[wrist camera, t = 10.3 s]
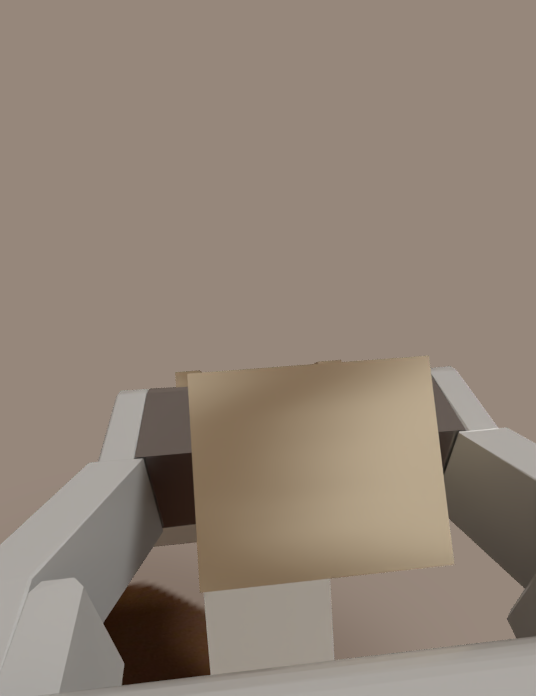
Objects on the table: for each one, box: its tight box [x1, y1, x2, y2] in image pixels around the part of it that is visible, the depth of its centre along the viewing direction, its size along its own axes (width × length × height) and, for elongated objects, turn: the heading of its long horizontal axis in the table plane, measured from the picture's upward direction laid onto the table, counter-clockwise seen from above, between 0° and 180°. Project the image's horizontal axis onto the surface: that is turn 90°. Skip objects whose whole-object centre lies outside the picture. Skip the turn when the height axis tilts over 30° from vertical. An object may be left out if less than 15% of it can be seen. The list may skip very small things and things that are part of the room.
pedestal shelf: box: [153, 524, 334, 675], centre depth 24 cm, size 12×11×25 cm
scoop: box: [175, 356, 454, 593], centre depth 15 cm, size 7×19×4 cm, turn 4°
